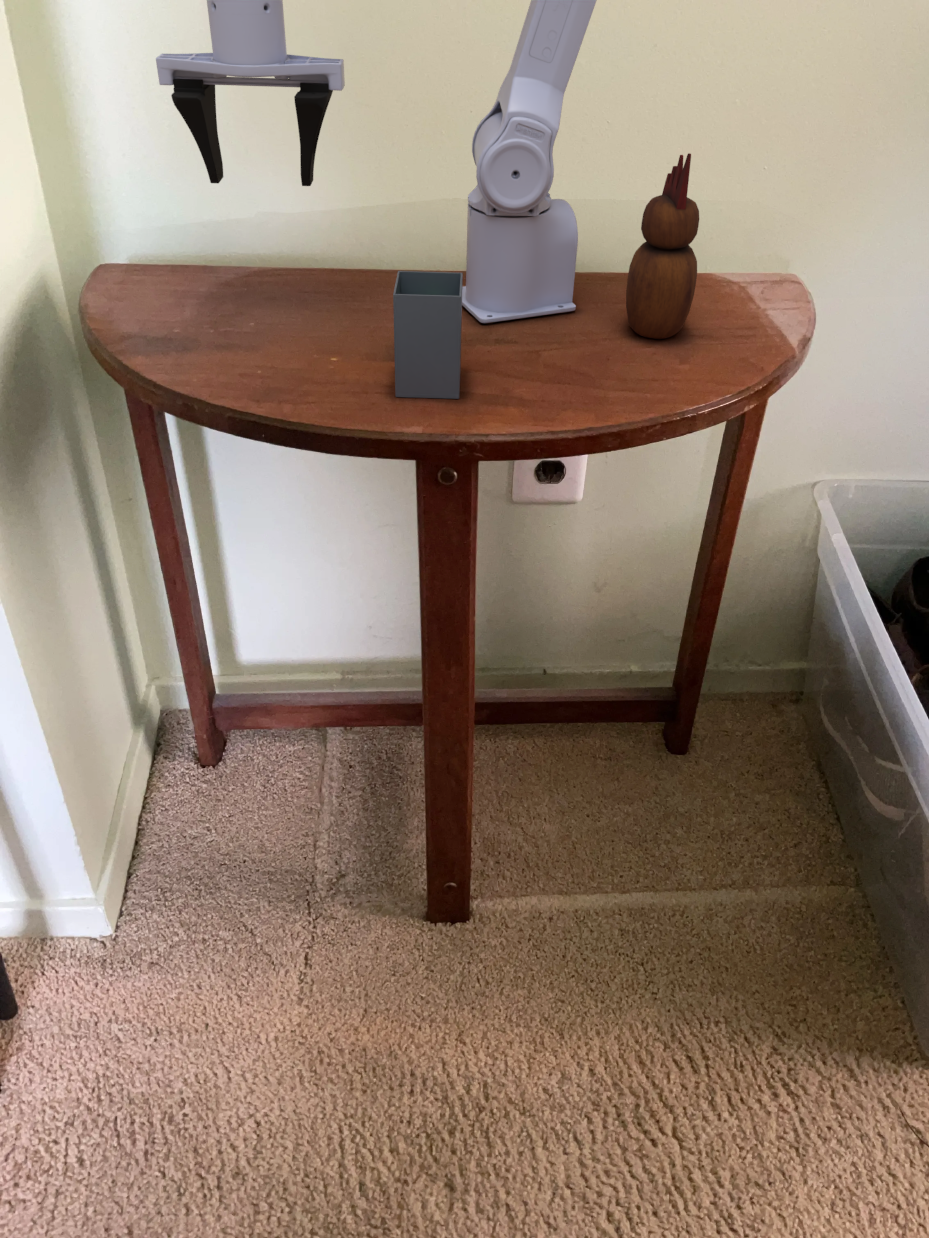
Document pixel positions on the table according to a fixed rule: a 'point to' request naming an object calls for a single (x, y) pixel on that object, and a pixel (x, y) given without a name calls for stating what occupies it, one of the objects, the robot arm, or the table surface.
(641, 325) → the wooden figurine
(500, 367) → the table surface
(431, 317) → the bin
